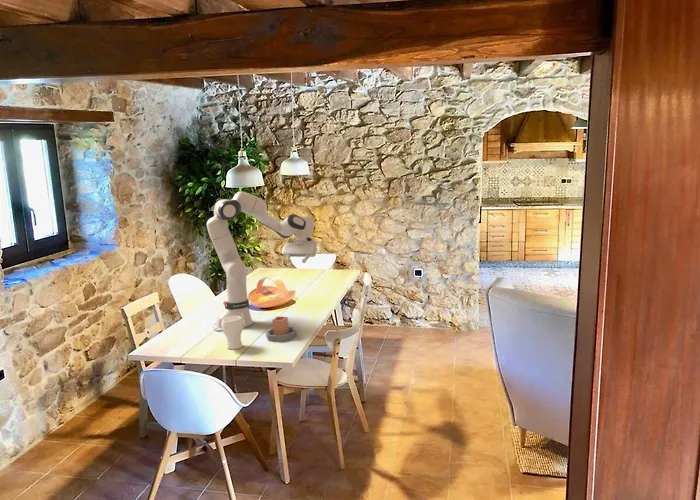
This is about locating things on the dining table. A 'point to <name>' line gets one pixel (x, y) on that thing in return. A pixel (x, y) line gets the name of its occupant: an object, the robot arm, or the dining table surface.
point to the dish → (281, 338)
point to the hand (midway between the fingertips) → (296, 262)
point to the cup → (232, 331)
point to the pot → (280, 326)
